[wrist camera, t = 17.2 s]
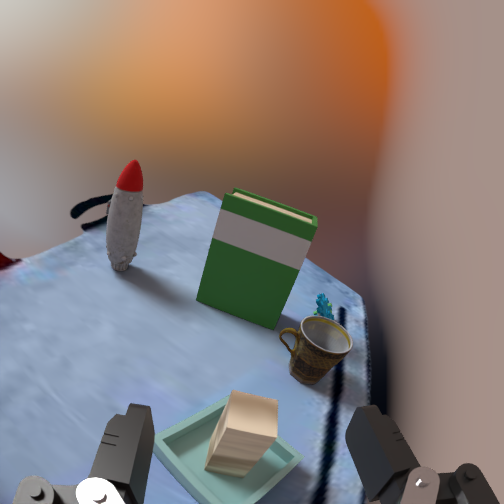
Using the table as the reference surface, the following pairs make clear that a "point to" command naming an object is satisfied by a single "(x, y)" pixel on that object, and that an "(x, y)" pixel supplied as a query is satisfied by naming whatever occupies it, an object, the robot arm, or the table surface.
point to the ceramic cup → (316, 348)
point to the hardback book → (255, 257)
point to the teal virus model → (323, 307)
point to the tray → (213, 484)
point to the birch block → (242, 434)
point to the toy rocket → (125, 217)
